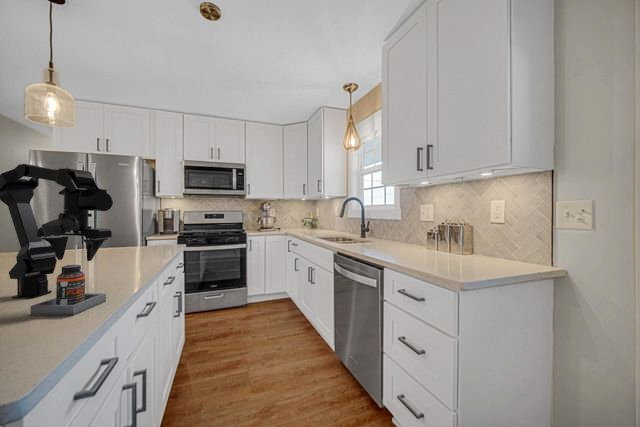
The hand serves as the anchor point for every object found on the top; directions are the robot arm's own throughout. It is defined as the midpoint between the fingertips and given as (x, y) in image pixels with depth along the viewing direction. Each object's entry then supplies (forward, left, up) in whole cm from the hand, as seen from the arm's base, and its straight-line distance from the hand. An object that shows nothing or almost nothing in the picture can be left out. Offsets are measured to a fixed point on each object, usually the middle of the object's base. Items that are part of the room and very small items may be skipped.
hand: (74, 260), depth 84 cm
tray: (+6, -8, -12) cm, 15 cm away
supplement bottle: (+6, -8, -12) cm, 15 cm away
